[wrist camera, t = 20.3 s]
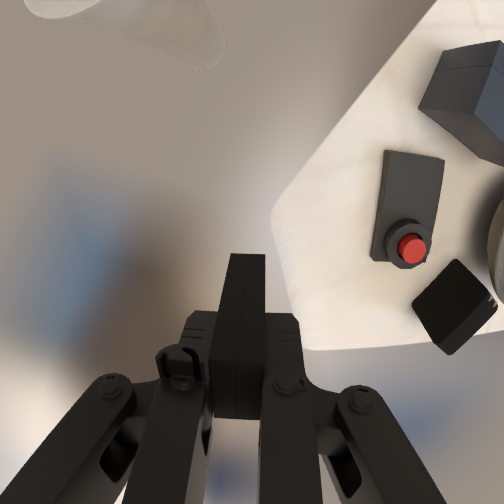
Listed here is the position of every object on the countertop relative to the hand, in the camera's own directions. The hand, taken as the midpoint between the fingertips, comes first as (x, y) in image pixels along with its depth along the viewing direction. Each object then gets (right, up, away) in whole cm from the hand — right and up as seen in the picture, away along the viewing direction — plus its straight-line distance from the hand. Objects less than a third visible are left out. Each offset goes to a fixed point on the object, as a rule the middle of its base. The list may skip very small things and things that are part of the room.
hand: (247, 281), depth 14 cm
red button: (+20, +2, +22) cm, 29 cm away
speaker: (+28, +20, +16) cm, 38 cm away
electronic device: (+29, -4, +28) cm, 40 cm away
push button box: (+20, +7, +23) cm, 31 cm away
